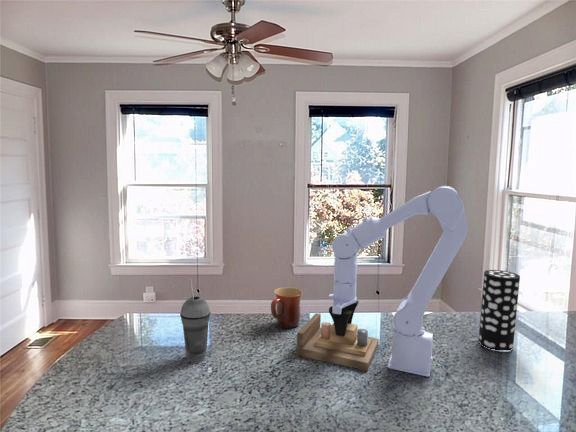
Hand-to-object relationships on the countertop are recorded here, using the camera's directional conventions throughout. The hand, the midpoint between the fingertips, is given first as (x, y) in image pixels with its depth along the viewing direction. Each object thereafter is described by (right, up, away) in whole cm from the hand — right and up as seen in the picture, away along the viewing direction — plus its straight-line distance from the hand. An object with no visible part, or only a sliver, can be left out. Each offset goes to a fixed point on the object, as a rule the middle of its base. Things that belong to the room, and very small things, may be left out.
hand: (343, 331), depth 98 cm
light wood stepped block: (-1, -5, +1) cm, 5 cm away
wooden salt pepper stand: (0, -3, 0) cm, 3 cm away
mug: (-15, -3, +16) cm, 22 cm away
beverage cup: (-37, -6, -4) cm, 38 cm away
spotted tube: (+42, -6, +5) cm, 43 cm away
